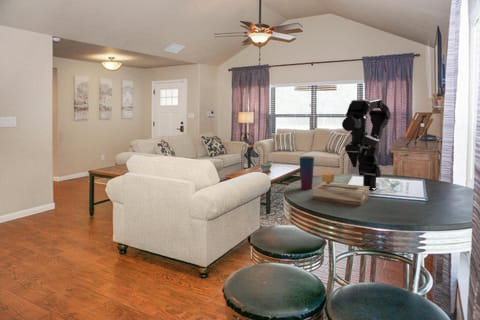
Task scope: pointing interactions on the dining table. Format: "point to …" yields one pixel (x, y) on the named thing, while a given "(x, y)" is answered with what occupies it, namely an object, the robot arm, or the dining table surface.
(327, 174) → the peg
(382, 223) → the dining table surface
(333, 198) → the keyhole track
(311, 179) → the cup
